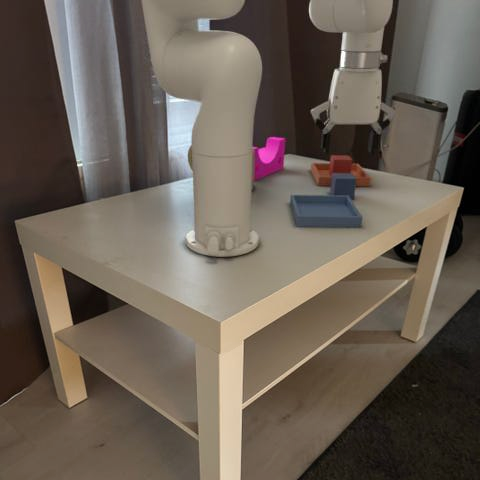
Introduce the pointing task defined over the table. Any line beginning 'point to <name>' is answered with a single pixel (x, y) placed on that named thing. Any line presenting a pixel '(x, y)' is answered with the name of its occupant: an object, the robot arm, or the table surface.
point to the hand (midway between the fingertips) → (348, 152)
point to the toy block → (269, 157)
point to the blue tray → (325, 211)
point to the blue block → (343, 184)
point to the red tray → (324, 179)
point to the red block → (340, 164)
